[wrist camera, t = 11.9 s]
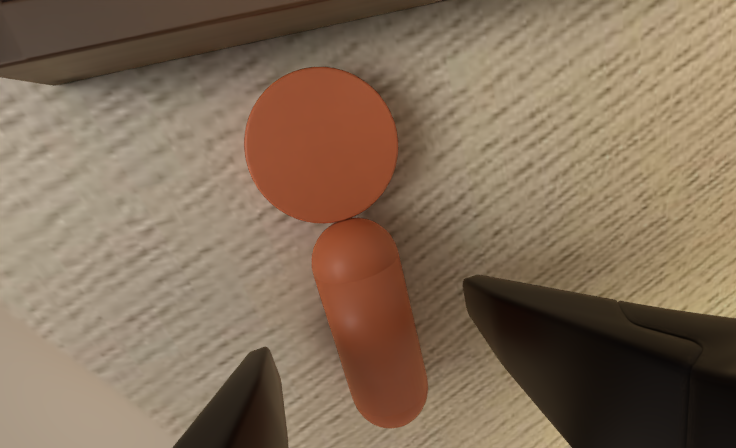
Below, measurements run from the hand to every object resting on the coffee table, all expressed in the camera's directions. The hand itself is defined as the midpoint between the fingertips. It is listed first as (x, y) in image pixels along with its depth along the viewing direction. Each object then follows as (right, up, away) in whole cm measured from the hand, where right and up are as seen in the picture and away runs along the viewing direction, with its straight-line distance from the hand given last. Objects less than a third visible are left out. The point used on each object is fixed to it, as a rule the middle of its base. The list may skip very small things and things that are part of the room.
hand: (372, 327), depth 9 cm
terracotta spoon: (-1, +2, 0) cm, 2 cm away
